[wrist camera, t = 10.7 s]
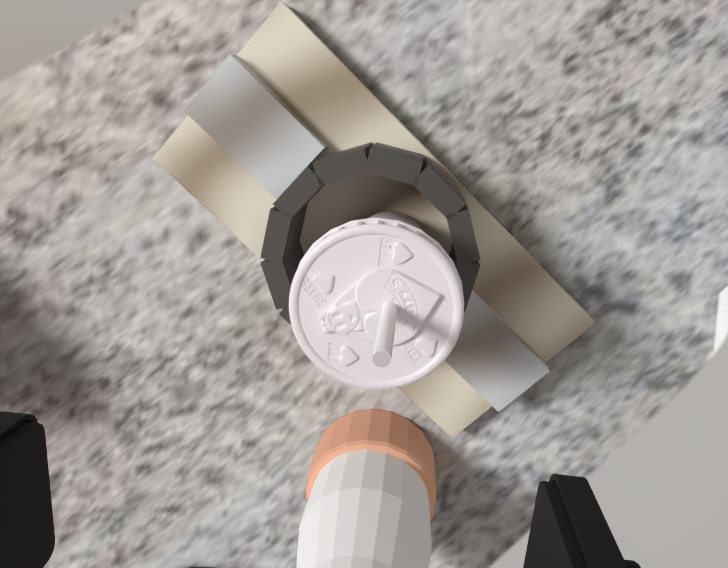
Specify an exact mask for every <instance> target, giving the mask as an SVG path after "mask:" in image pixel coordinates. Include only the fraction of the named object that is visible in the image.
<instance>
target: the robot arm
mask: <svg viewBox="0 0 728 568" xmlns="http://www.w3.org/2000/svg"><path fill="white" fill-rule="evenodd" d="M54 545H55V535H54V524H53V513H52V503H51V492H50V481H49V471H48V460H47V450H46V439H45V430H44V427H43V425H42V424H40V423H38V422H37V419H36V418H35V416H33V415H31V414H22V413H13V412H0V568H43V567H44V565H45V564H46V563H47V562H48V560H49V559H50V557H51V555H52V552H53V549H54ZM523 568H641V567H640V566H639V564H637V563H636V562H635V561H631V560H624V559H623V557H622V555H621V552H620V550H619V548H618V546H617V544H616V541H615V539H614V537H613V535H612V533H611V531H610V528H609V526H608V524H607V522H606V520H605V518H604V516H603V513H602V511H601V509H600V507H599V504H598V502H597V500H596V498H595V496H594V494H593V491H592V489H591V487H590V485H589V483H588V481H587V479H586V478H584V477H577V476H568V475H559V474H553V475H551V477H550V480H549V482H548V481H541V482H540V483H539V486H538V491H537V497H536V502H535V507H534V513H533V518H532V524H531V529H530V534H529V540H528V545H527V551H526V556H525V562H524V567H523Z"/></svg>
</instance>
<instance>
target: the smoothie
mask: <svg viewBox="0 0 728 568" xmlns="http://www.w3.org/2000/svg"><path fill="white" fill-rule="evenodd" d="M289 315H290V321H291V325H292V328H293V331H294V334H295V336H296V339H297V341H298V343H299V345H300V346H301V348H302V349H303V351H304V352H305V354H306V355H307V356H308V357H309V359H310V360H311V361H312V362H313V363H314V364H315V365H316V366H318V367H319V368H320V369H321V370H322V371H324V372H325V373H326V374H328V375H330V376H331V377H333V378H335V379H337V380H339V381H341V382H343V383H346V384H348V385H352V386H355V387H359V388H364V389H374V390H383V389H393V388H399V387H402V386H406V385H409V384H412V383H414V382H416V381H418V380H421V379H422V378H424V377H426V376H427V375H429V374H430V373H432V372H433V371H434V370H435V369H437V368H438V367H439V366H440V365H441V364H442V363H443V362H444V361H445V359H446V358H447V357H448V356H449V354H450V353H451V351H452V350H453V348H454V346H455V344H456V342H457V340H458V338H459V335H460V332H461V328H462V324H463V317H464V297H463V288H462V281H461V279H460V277H459V274H458V272H457V269H456V267H455V264H454V262H453V260H452V259H451V258H450V257H449V255H448V254H447V253H446V251H445V250H444V249H443V248H442V246H441V245H440V244H439V243H438V242H437V241H435V240H434V239H433V238H431V237H430V236H429V235H427V234H426V233H425V232H423V231H422V229H421V228H420V226H419V225H418V224H417V223H416V222H415V221H414V220H413V219H412V218H411V217H409V216H407V215H405V214H403V213H400V212H395V211H384V212H379V213H376V214H374V215H372V216H370V217H369V218H367V219H360V220H353V221H350V222H347V223H345V224H343V225H340V226H338V227H336V228H333V229H331V230H329V231H328V232H327V233H326V234H324V235H323V236H322V237H321V238H319V239H318V240H317V241H316V242H314V243H313V244H312V246H311V247H310V248H309V250H308V251H307V253H306V254H305V255H304V257H303V258H302V259H301V261H300V263H299V266H298V269H297V271H296V273H295V275H294V278H293V281H292V284H291V288H290V294H289Z"/></svg>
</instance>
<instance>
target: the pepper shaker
mask: <svg viewBox="0 0 728 568" xmlns="http://www.w3.org/2000/svg"><path fill="white" fill-rule="evenodd" d="M306 498H307V505H306V508H305V511H304V514H303V517H302V520H301V523H300V527H299V539H298V552H297V567H296V568H428V566H429V560H430V554H431V549H432V541H431V525H430V520H431V519H432V517H433V515H434V510H435V504H436V470H435V460H434V455H433V450H432V446H431V445H430V443H429V441H428V440H427V438H426V436H425V435H424V433H423V432H422V431H421V430H420V429H419V428H418V427H417V426H416V425H414V424H413V423H412V422H411V421H410V420H408V419H406V418H404V417H402V416H399V415H397V414H395V413H393V412H389V411H382V410H375V409H370V410H362V411H355V412H352V413H350V414H348V415H345V416H343V417H341V418H339V419H337V420H336V421H335V422H334V423H333V424H332V425H331V426H330V427H328V428H327V429H326V430H325V431H324V433H323V435H322V437H321V439H320V441H319V443H318V446H317V449H316V452H315V455H314V458H313V462H312V465H311V468H310V472H309V475H308V478H307V488H306Z"/></svg>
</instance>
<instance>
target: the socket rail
mask: <svg viewBox="0 0 728 568" xmlns="http://www.w3.org/2000/svg"><path fill="white" fill-rule="evenodd" d="M184 111H185V112H186V113H187V114H188V116H187V117H186V118H185V119H184V120H183V122H182V123H181V124H180V125H179V127H178V128H177V129H176V130H175V132H174V133H173V134H172V135H171V136H170V138H169V139H168V140H167V141H166V143H165V144H164V145H163V146H162V147H161V149H160V150H159V151H158V152H157V154H156V155H155V156H154V157H153V159H154V160H155V161H156V162H157V163H158V164H159V165H160V166H161V167H162V168H164V169H165V170H166V171H167V172H168V173H169V174H170V175H171V176H172V177H173V178H174V179H175V180H176V181H177V182H179V183H180V184H181V185H182V186H183V187H184V188H185V189H186V190H187V191H188V192H189V193H190V194H191V195H192V196H194V197H195V198H196V199H197V200H198V201H199V202H200V203H201V204H202V205H203V206H204V207H205V208H206V209H207V210H209V211H210V212H211V213H212V214H213V215H214V216H215V217H216V218H217V219H218V220H219V221H220V222H221V223H222V224H224V225H225V226H226V227H227V228H228V229H229V230H230V231H231V232H232V233H233V234H234V235H235V236H236V237H237V238H239V239H240V240H241V241H242V242H243V243H244V244H245V245H246V246H247V247H248V248H249V249H250V250H251V251H252V252H254V253H255V254H256V255H257V256H258V257H259V258H260V259H261V260H262V261H263V262H262V263H261V266H262V269H263V272H264V275H265V278H266V281H267V283H268V286H269V289H270V292H271V295H272V298H273V301H274V304H275V307H276V310H277V309H281V308H283V310H282V311H281V313H280V315H281V316H282V317H283V318H284V319H285V320H286V321H287V322H288V323H290V324H291V321H290V315H289V294H290V288H291V284H292V281H293V278H294V275H295V273H296V271H297V269H298V266H299V263H300V261H301V259H302V258H303V257H304V255H305V254H306V253H307V251H308V250H309V248H310V247H311V246H312V244H313V243H314V242H316V241H317V240H318V239H319V238H321V237H322V236H323V235H324V234H326V233H327V232H328V231H329V230H331V229H333V228H336V227H338V226H340V225H343V224H345V223H347V222H350V221H353V220H360V219H367V218H369V217H370V216H372V215H374V214H376V213H379V212H384V211H395V212H400V213H403V214H405V215H407V216H409V217H411V218H412V219H413V220H414V221H415V222H416V223H417V224H418V225H419V226H420V228H421V229H422V231H423V232H425V233H426V234H427V235H429V236H430V237H431V238H433V239H434V240H435V241H437V242H438V243H439V244H440V245H441V246H442V248H443V249H444V250H445V251H446V253H447V254H448V255H449V257H450V258H451V259H452V260H453V262H454V264H455V267H456V269H457V272H458V274H459V277H460V279H461V281H462V288H463V297H464V317H463V324H462V328H461V332H460V335H459V338H458V340H457V342H456V344H455V346H454V348H453V350H452V351H451V353H450V354H449V356H448V357H447V358H446V359H445V361H444V362H443V363H442V364H441V365H440V366H439V367H438V368H437V369H435V370H434V371H433V372H432V373H430V374H429V375H427V376H426V377H424V378H422V379H421V380H418V381H416V382H414V383H412V384H409V385H406V386H402V387H399V389H400V390H401V391H402V392H404V393H405V394H406V395H407V396H408V397H409V398H410V399H411V400H412V401H413V402H414V403H415V404H416V405H417V406H419V407H420V408H421V409H422V410H423V411H424V412H425V413H426V414H427V415H428V416H429V417H430V418H431V419H433V420H434V421H435V422H436V423H437V424H438V425H439V426H440V427H441V428H442V429H443V430H444V431H445V432H446V433H448V434H449V435H450V436H451V437H452V438H453V437H455V436H456V435H457V434H458V433H460V432H461V431H462V430H463V429H465V428H466V427H467V426H468V425H470V424H471V423H472V422H473V421H475V420H476V419H477V418H478V417H480V416H481V415H482V414H483V413H484V412H486V411H487V410H488V409H489V408H491V407H492V406H493V407H494V408H495V409H496V410H497V411H498V412H499V411H501V410H502V409H503V408H504V407H506V406H507V405H508V404H509V403H511V402H512V401H513V400H514V399H516V398H517V397H518V396H519V395H521V394H522V393H523V392H524V391H526V390H527V389H528V388H529V387H531V386H532V385H533V384H534V383H536V382H537V381H538V380H539V379H541V378H542V377H543V376H544V375H546V374H547V373H548V372H549V371H550V370H549V368H548V366H547V364H546V362H548V361H549V360H550V359H551V358H553V357H554V356H555V355H556V354H558V353H559V352H560V351H561V350H563V349H564V348H565V347H566V346H568V345H569V344H570V343H571V342H572V341H574V340H575V339H576V338H577V337H579V336H580V335H581V334H582V333H584V332H585V331H586V330H587V329H589V328H590V327H591V326H592V325H594V324H595V322H594V321H593V319H592V318H591V317H590V316H589V314H588V313H587V312H586V311H585V310H584V309H583V308H582V307H581V306H580V305H579V304H578V303H577V302H576V301H575V300H574V299H573V298H572V297H571V296H570V295H569V294H568V293H567V291H566V290H565V289H564V288H563V287H562V286H561V285H560V284H559V283H558V282H557V281H556V280H555V279H554V278H553V277H552V276H551V275H550V274H549V273H548V272H547V271H546V270H545V269H544V268H543V267H542V266H541V265H540V264H539V263H538V262H537V261H536V260H535V259H534V258H533V257H532V256H531V255H530V254H529V253H528V251H527V250H526V249H525V248H524V247H523V246H522V245H521V244H520V243H519V242H518V241H517V240H516V239H515V238H514V237H513V236H512V235H511V234H510V233H509V232H508V231H507V230H506V229H505V228H504V227H503V226H502V225H501V224H500V223H499V222H498V221H497V220H496V219H495V218H494V217H493V216H492V215H491V214H490V213H489V211H488V210H487V209H486V208H485V207H484V206H483V205H482V204H481V203H480V202H479V201H478V200H477V199H476V198H475V197H474V196H473V195H472V194H471V193H470V192H469V191H468V190H467V189H466V188H465V187H464V186H463V185H462V184H461V183H460V182H459V181H458V180H457V179H456V178H455V177H454V176H453V175H452V174H451V172H450V171H449V170H448V169H447V168H446V167H445V166H444V165H443V164H442V163H441V162H440V161H439V160H438V159H437V158H436V157H435V156H434V155H433V154H432V153H431V152H430V151H429V150H428V149H427V148H426V147H425V146H424V145H423V144H422V143H421V142H420V141H419V140H418V139H417V138H416V137H415V136H414V135H413V134H412V132H411V131H410V130H409V129H408V128H407V127H406V126H405V125H404V124H403V123H402V122H401V121H400V120H399V119H398V118H397V117H396V116H395V115H394V114H393V113H392V112H391V111H390V110H389V109H388V108H387V107H386V106H385V105H384V104H383V103H382V102H381V101H380V100H379V99H378V98H377V97H376V96H375V95H374V93H373V92H372V91H371V90H370V89H369V88H368V87H367V86H366V85H365V84H364V83H363V82H362V81H361V80H360V79H359V78H358V77H357V76H356V75H355V74H354V73H353V72H352V71H351V70H350V69H349V68H348V67H347V66H346V65H345V64H344V63H343V62H342V61H341V60H340V59H339V58H338V57H337V56H336V55H335V53H334V52H333V51H332V50H331V49H330V48H329V47H328V46H327V45H326V44H325V43H324V42H323V41H322V40H321V39H320V38H319V37H318V36H317V35H316V34H315V33H314V32H313V31H312V30H311V29H310V28H309V27H308V26H307V25H306V24H305V23H304V22H303V21H302V20H301V19H300V18H299V17H298V16H297V14H296V13H295V12H294V11H293V10H292V9H291V8H290V7H289V6H287V5H286V4H285V3H283V2H282V1H281V2H280V3H279V4H278V6H277V7H276V8H275V9H274V10H273V12H272V13H271V14H270V15H269V17H268V18H267V19H266V20H265V21H264V23H263V24H262V25H261V26H260V28H259V29H258V30H257V31H256V32H255V34H254V35H253V36H252V37H251V39H250V40H249V41H248V42H247V43H246V45H245V46H244V47H243V48H242V50H241V51H240V52H239V53H238V54H237V56H236V55H232V54H230V55H229V56H228V57H227V58H226V60H225V61H224V62H223V63H222V65H221V66H220V67H219V68H218V69H217V71H216V72H215V73H214V74H213V76H212V77H211V78H210V79H209V81H208V82H207V83H206V84H205V85H204V87H203V88H202V89H201V90H200V92H199V93H198V94H197V95H196V97H195V98H194V99H193V100H192V101H191V103H190V104H189V105H188V106H187V108H186V109H185V110H184Z"/></svg>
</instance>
